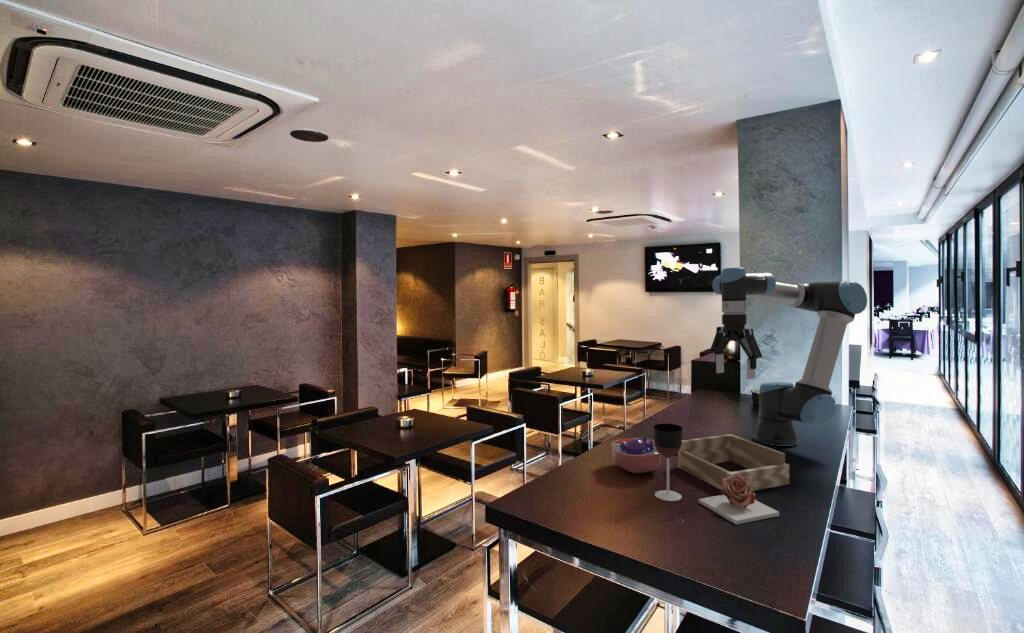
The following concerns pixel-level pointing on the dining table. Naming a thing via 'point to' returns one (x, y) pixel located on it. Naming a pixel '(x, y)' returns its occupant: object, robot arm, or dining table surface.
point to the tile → (738, 510)
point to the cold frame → (758, 459)
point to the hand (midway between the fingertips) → (735, 375)
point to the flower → (738, 490)
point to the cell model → (636, 454)
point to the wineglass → (668, 452)
